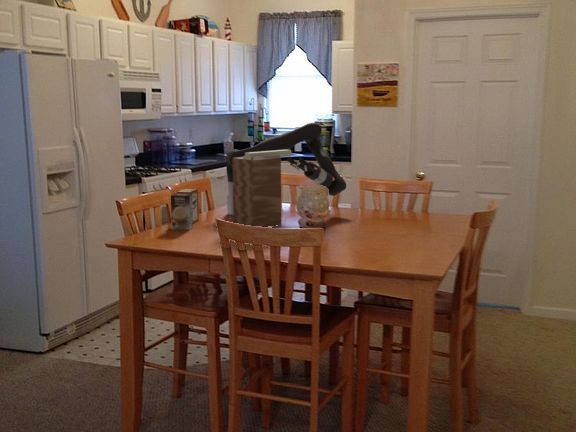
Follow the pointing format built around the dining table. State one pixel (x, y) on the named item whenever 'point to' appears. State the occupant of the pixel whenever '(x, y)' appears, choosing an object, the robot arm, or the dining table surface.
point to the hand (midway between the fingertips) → (293, 159)
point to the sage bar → (265, 153)
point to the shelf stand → (257, 190)
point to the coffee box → (181, 211)
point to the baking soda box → (195, 201)
